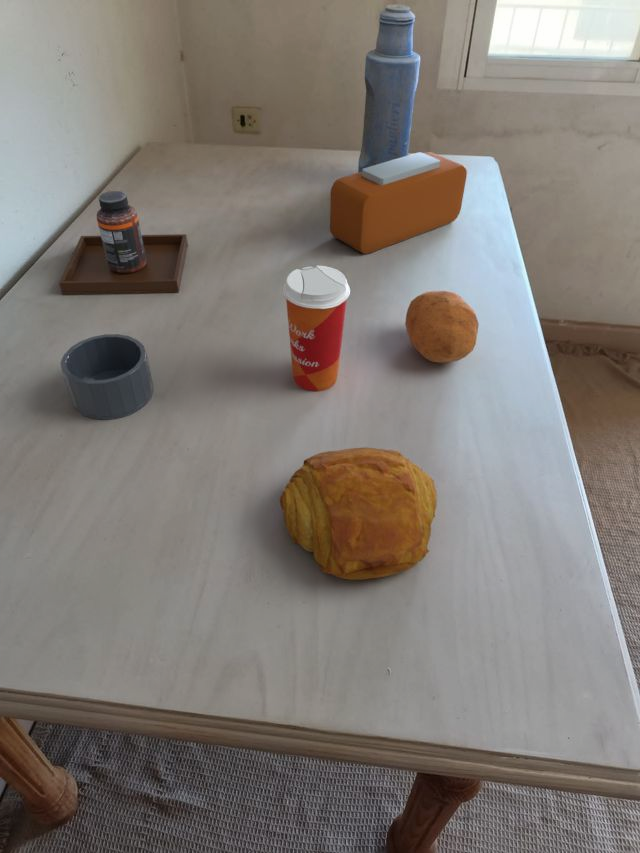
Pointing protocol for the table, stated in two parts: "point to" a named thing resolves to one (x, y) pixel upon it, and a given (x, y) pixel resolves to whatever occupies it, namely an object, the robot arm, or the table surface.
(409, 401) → the table surface
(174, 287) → the walnut tray
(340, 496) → the croissant
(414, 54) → the bottle
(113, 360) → the grey cup
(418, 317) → the potato
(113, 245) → the supplement bottle
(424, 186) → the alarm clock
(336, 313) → the paper cup
